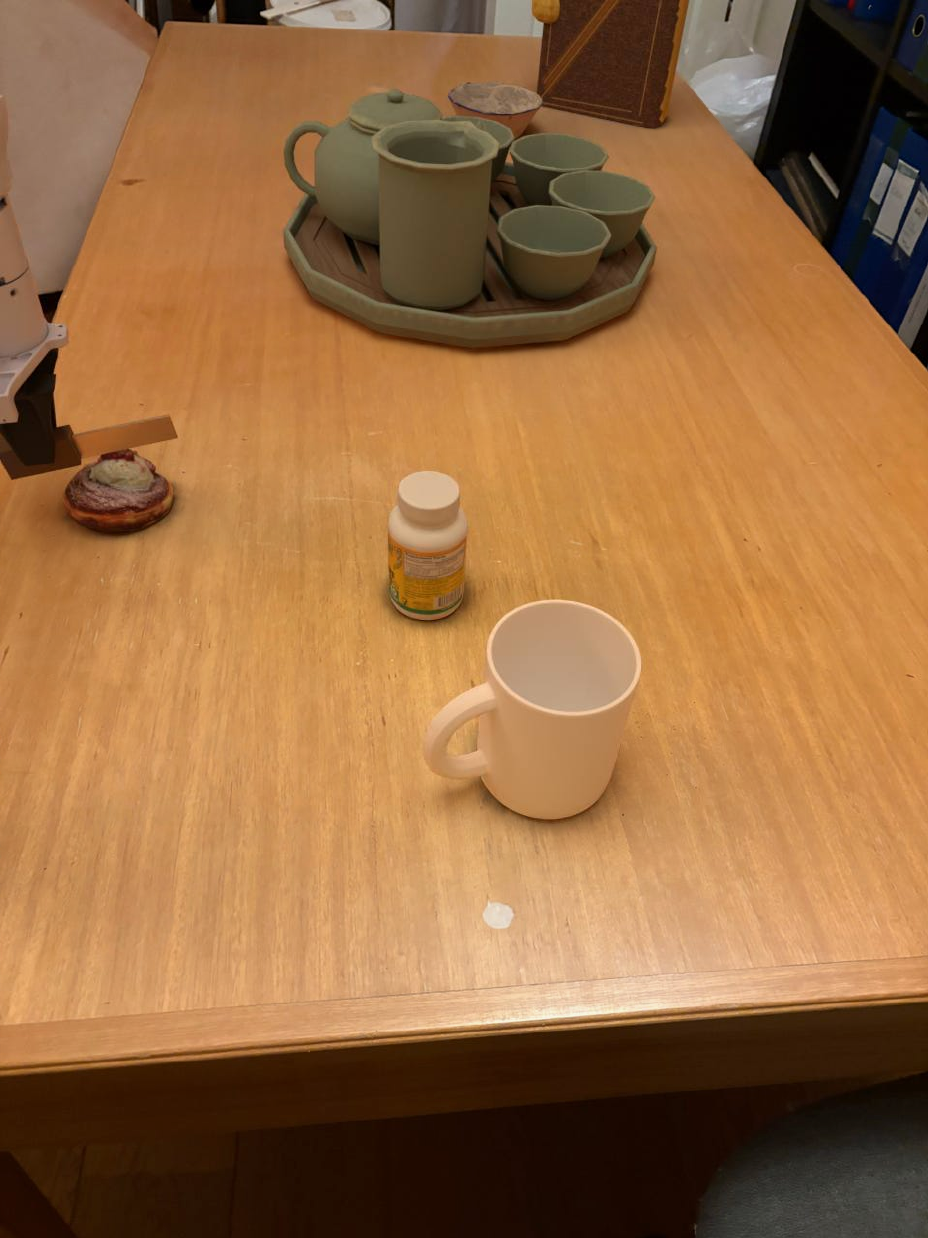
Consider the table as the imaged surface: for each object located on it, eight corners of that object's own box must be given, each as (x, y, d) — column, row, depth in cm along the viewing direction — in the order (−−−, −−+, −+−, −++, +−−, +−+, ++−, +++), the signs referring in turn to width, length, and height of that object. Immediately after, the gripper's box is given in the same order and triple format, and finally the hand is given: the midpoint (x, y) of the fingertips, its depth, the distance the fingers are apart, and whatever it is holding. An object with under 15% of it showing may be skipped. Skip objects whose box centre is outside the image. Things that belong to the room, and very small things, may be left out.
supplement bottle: (457, 627, 64) (463, 521, 57) (381, 616, 65) (378, 510, 58) (468, 575, 68) (476, 469, 61) (396, 565, 68) (396, 458, 62)
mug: (445, 862, 52) (452, 754, 44) (398, 747, 57) (398, 633, 50) (634, 801, 55) (670, 691, 48) (574, 698, 61) (598, 585, 53)
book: (671, 115, 140) (712, -91, 122) (655, 132, 135) (694, -82, 117) (536, 87, 146) (556, -114, 128) (515, 102, 140) (532, -105, 122)
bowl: (430, 135, 129) (431, 97, 125) (472, 110, 137) (474, 73, 134) (515, 156, 125) (518, 117, 122) (552, 128, 133) (556, 91, 130)
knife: (11, 480, 67) (-4, 453, 65) (13, 465, 68) (-2, 438, 66) (178, 444, 68) (167, 417, 66) (177, 430, 69) (167, 403, 67)
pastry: (186, 481, 74) (175, 428, 70) (156, 543, 69) (142, 490, 65) (88, 471, 74) (72, 418, 71) (50, 533, 69) (30, 478, 65)
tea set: (708, 334, 94) (752, 164, 83) (314, 369, 86) (300, 186, 74) (579, 179, 121) (598, 34, 109) (268, 195, 112) (252, 40, 101)
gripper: (41, 323, 53) (97, 509, 63) (54, 215, 62) (100, 391, 72) (-95, 333, 51) (-16, 521, 61) (-60, 221, 61) (3, 399, 71)
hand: (40, 452), depth 67 cm, fingers closed on knife, 2 cm apart
